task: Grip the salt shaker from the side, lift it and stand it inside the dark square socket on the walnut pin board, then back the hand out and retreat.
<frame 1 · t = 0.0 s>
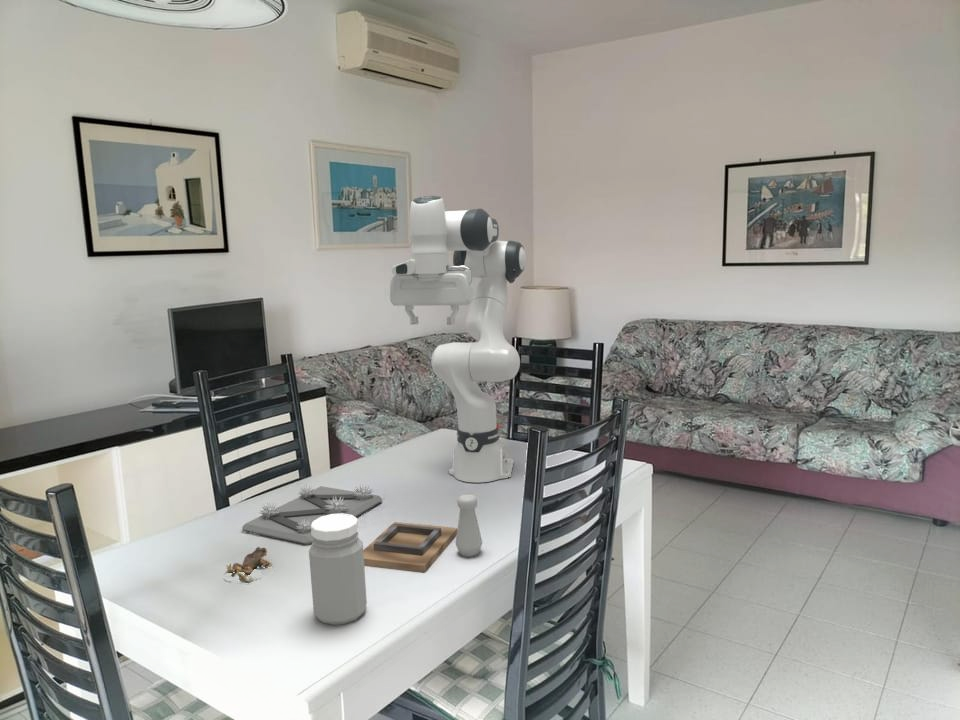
hand: (432, 324, 169), 48 cm above the table, tool pointing down, fingers open, 8 cm apart
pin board: (408, 548, 158), on the table
salt shaker: (469, 553, 155), on the table
frog figurine: (249, 573, 150), on the table
decorative plate: (315, 519, 179), on the table
jar: (341, 614, 131), on the table
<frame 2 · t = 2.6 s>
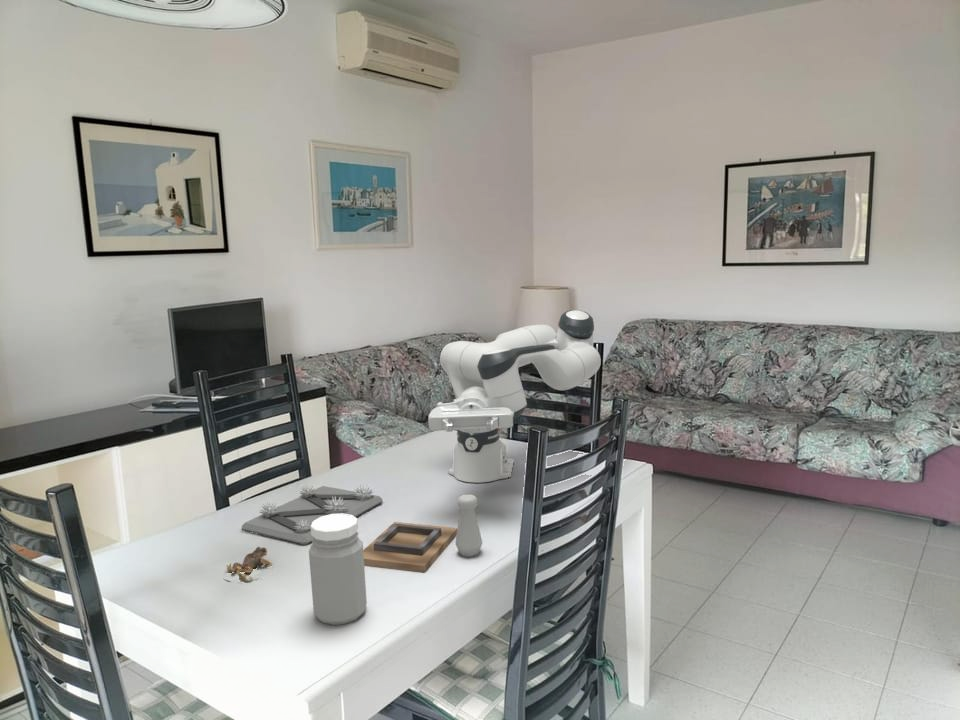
hand: (469, 427, 162), 25 cm above the table, tool horizontal, fingers open, 8 cm apart
nothing on the table moved.
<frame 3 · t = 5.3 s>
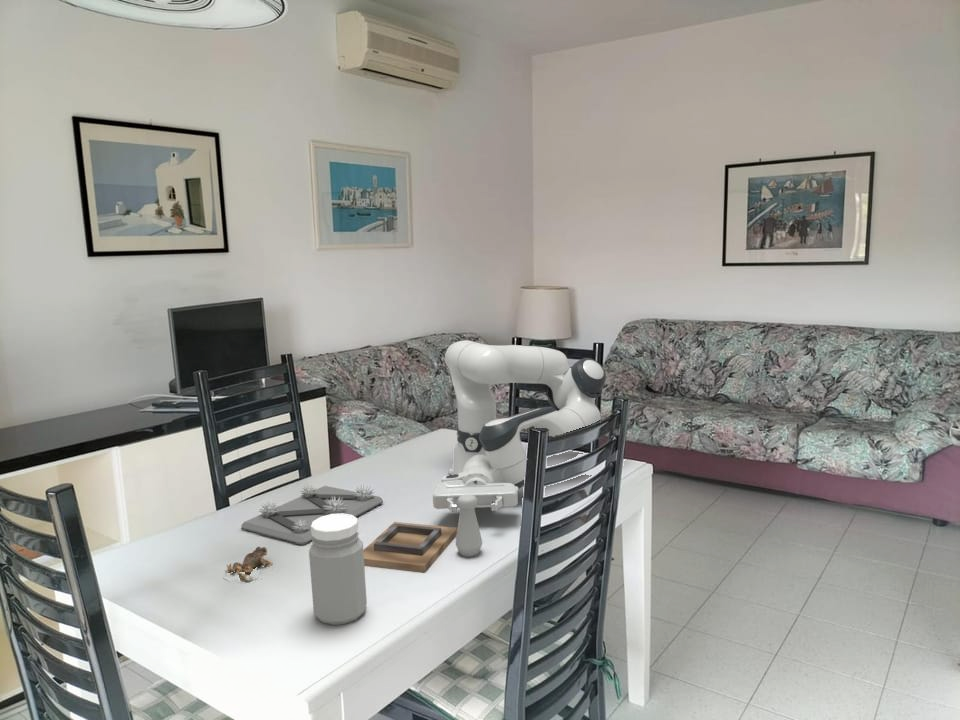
hand: (473, 508, 162), 7 cm above the table, tool horizontal, fingers open, 8 cm apart
nothing on the table moved.
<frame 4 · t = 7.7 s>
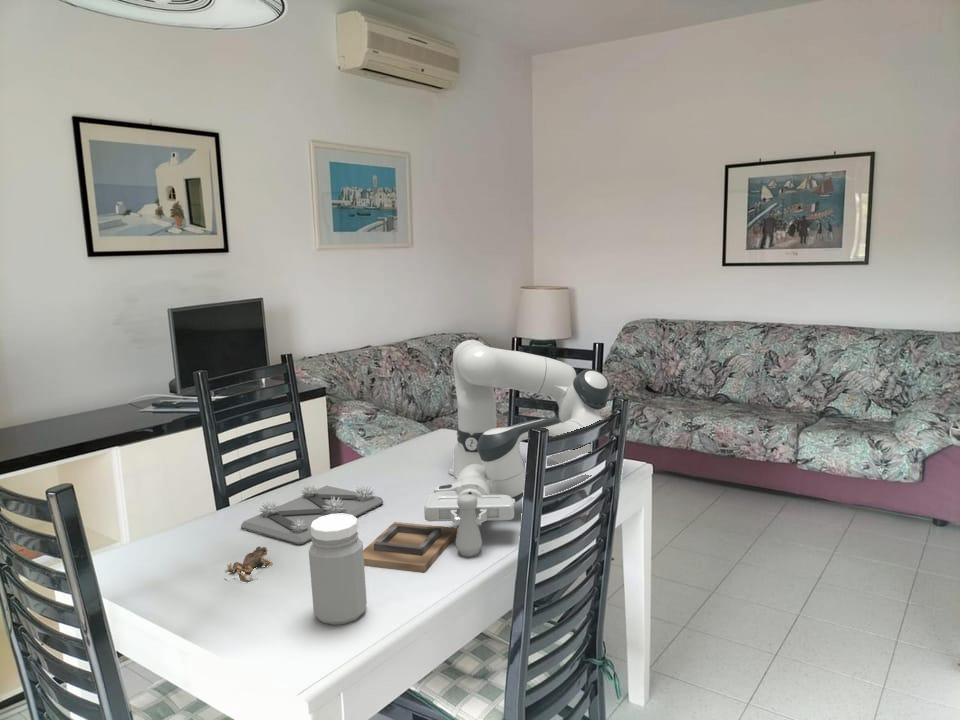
hand: (467, 522, 153), 8 cm above the table, tool horizontal, fingers closed on salt shaker, 3 cm apart
salt shaker: (469, 553, 155), on the table, touching gripper
everything else where it was.
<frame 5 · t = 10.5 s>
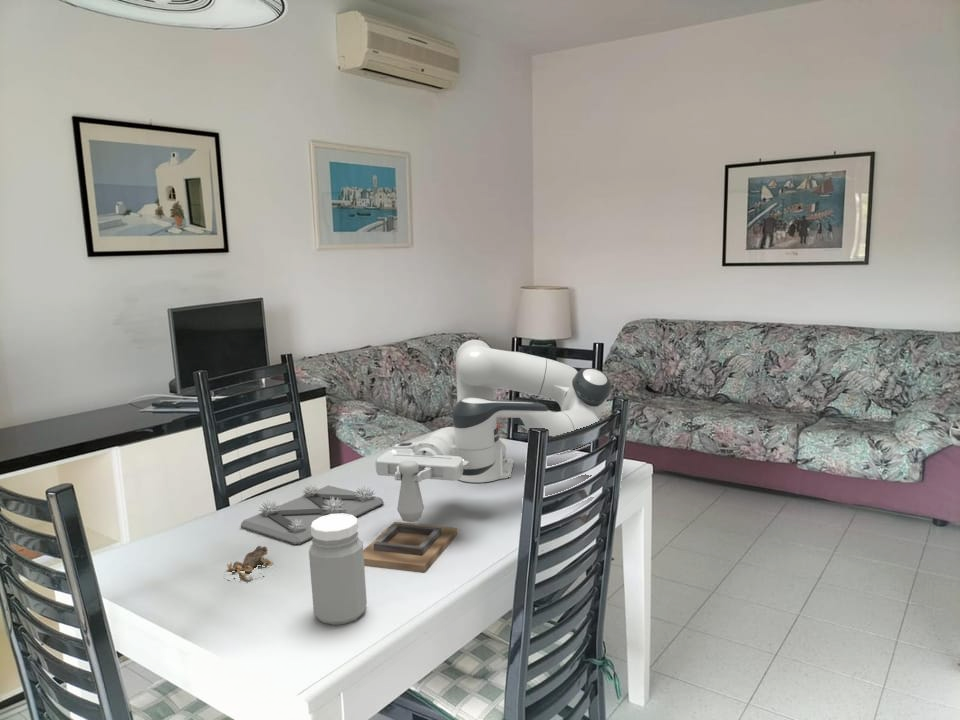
hand: (406, 477, 154), 17 cm above the table, tool horizontal, fingers closed on salt shaker, 3 cm apart
salt shaker: (411, 519, 157), point 7 cm above the table, touching gripper
when the fingers open (11 cm above the table, at t = 12.4 s): salt shaker stays where it is, resting on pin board.
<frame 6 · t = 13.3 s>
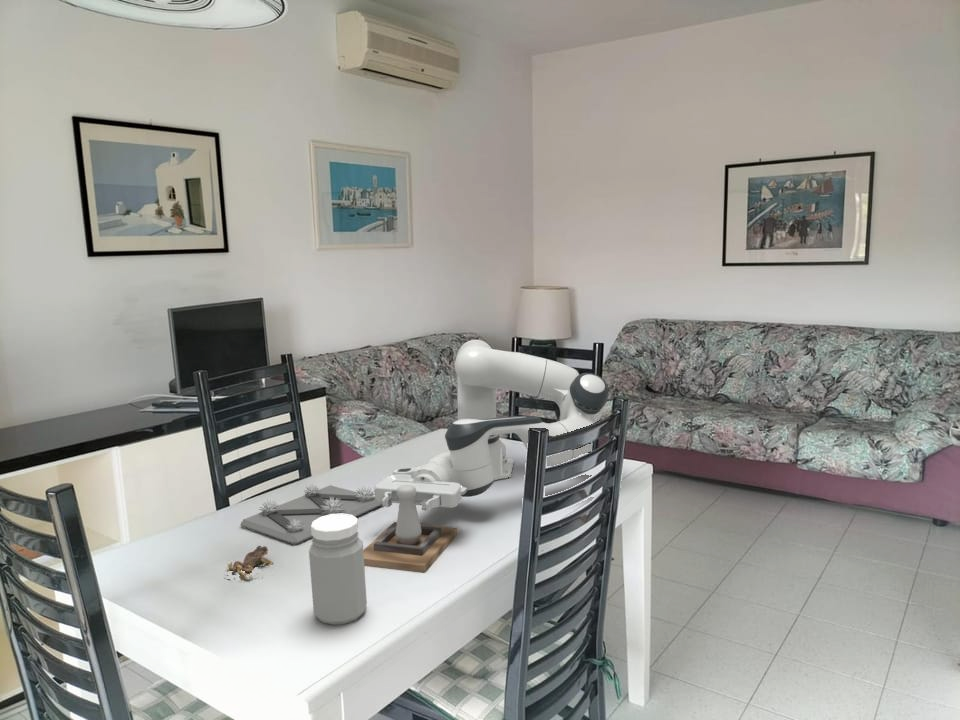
hand: (404, 505, 155), 11 cm above the table, tool horizontal, fingers open, 8 cm apart
salt shaker: (409, 543, 158), point 1 cm above the table, touching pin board
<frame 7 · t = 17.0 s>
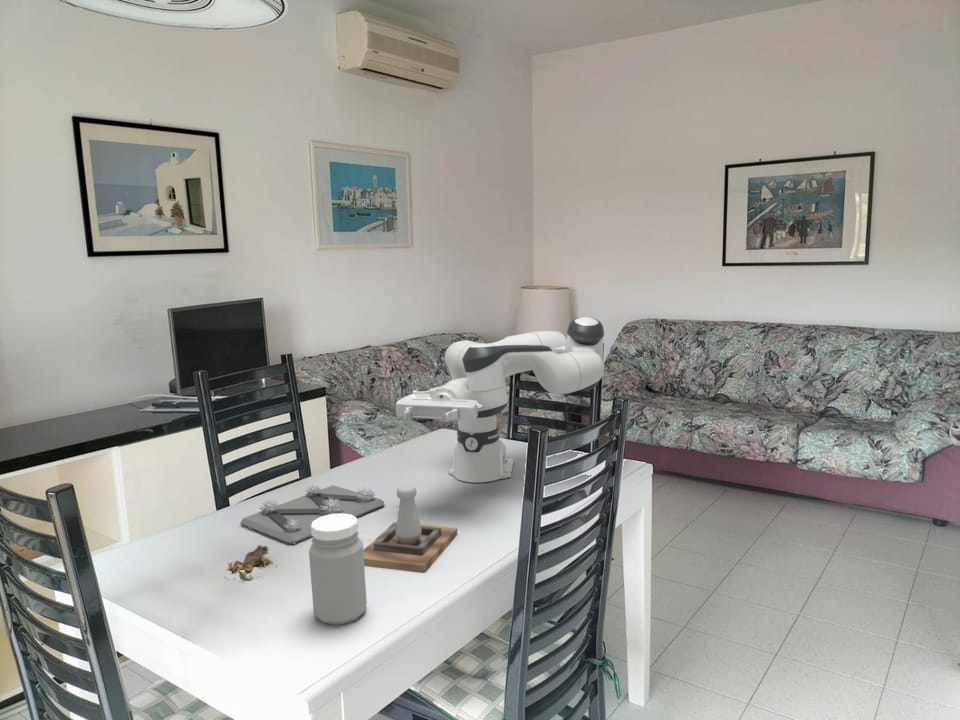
hand: (425, 416, 164), 27 cm above the table, tool horizontal, fingers open, 8 cm apart
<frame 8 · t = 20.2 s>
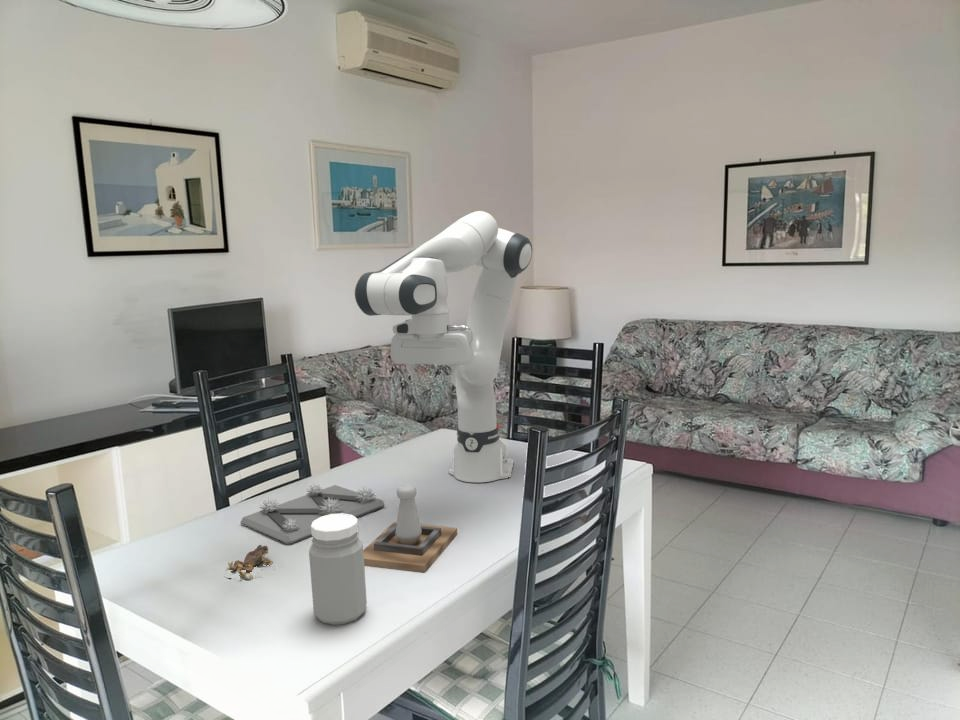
hand: (433, 382, 170), 34 cm above the table, tool pointing down, fingers open, 8 cm apart
at the end: salt shaker 0.2 cm off-centre on the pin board, point 1.3 cm above the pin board's base; salt shaker tilted 0°; the gripper is holding nothing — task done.
